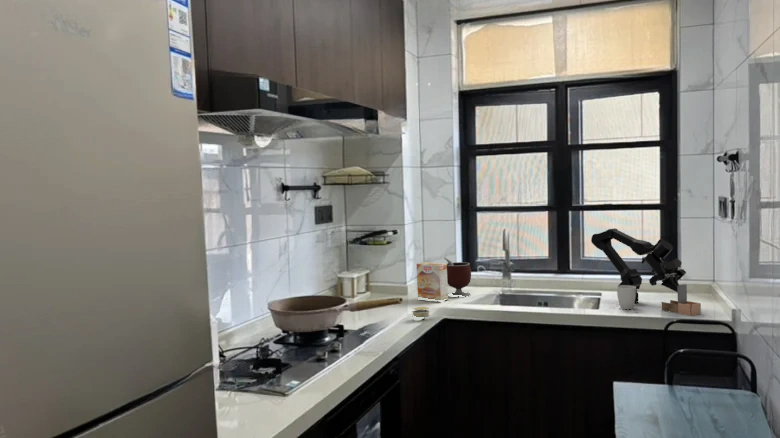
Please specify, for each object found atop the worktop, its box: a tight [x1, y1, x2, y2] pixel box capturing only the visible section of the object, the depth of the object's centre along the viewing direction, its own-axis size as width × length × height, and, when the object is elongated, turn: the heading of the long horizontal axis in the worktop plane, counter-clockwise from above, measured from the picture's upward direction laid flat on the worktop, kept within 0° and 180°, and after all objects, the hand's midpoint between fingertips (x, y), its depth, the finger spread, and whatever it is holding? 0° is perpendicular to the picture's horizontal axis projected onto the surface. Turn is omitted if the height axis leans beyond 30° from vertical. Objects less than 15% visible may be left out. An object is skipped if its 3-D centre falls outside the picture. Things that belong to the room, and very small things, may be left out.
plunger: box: [676, 283, 688, 304], centre depth 251 cm, size 1×5×9 cm, turn 119°
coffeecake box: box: [416, 261, 449, 300], centre depth 302 cm, size 15×7×20 cm, turn 49°
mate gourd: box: [443, 257, 472, 297], centre depth 312 cm, size 16×14×20 cm
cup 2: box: [677, 300, 702, 317], centre depth 249 cm, size 6×6×4 cm
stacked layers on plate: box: [411, 306, 430, 318], centre depth 261 cm, size 10×9×6 cm
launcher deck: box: [661, 299, 679, 314], centre depth 255 cm, size 8×6×4 cm
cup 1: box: [616, 285, 637, 311], centre depth 263 cm, size 8×8×10 cm
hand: (680, 292), depth 252 cm, fingers closed, pressing on plunger
